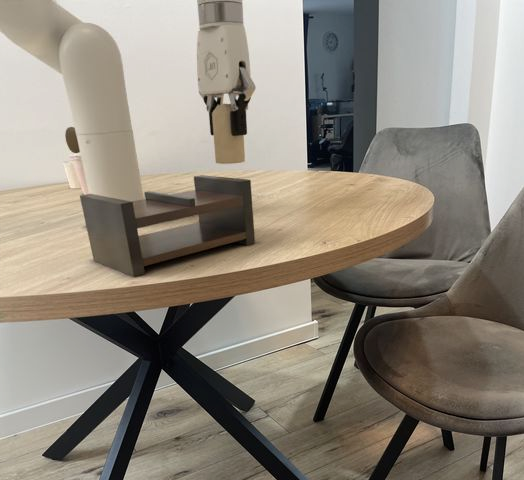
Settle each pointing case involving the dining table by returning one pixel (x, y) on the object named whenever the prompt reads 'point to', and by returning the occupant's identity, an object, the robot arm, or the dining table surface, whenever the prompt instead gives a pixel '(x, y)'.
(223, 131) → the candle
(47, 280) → the dining table surface
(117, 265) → the rack
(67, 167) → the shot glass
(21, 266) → the dining table surface
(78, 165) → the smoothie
